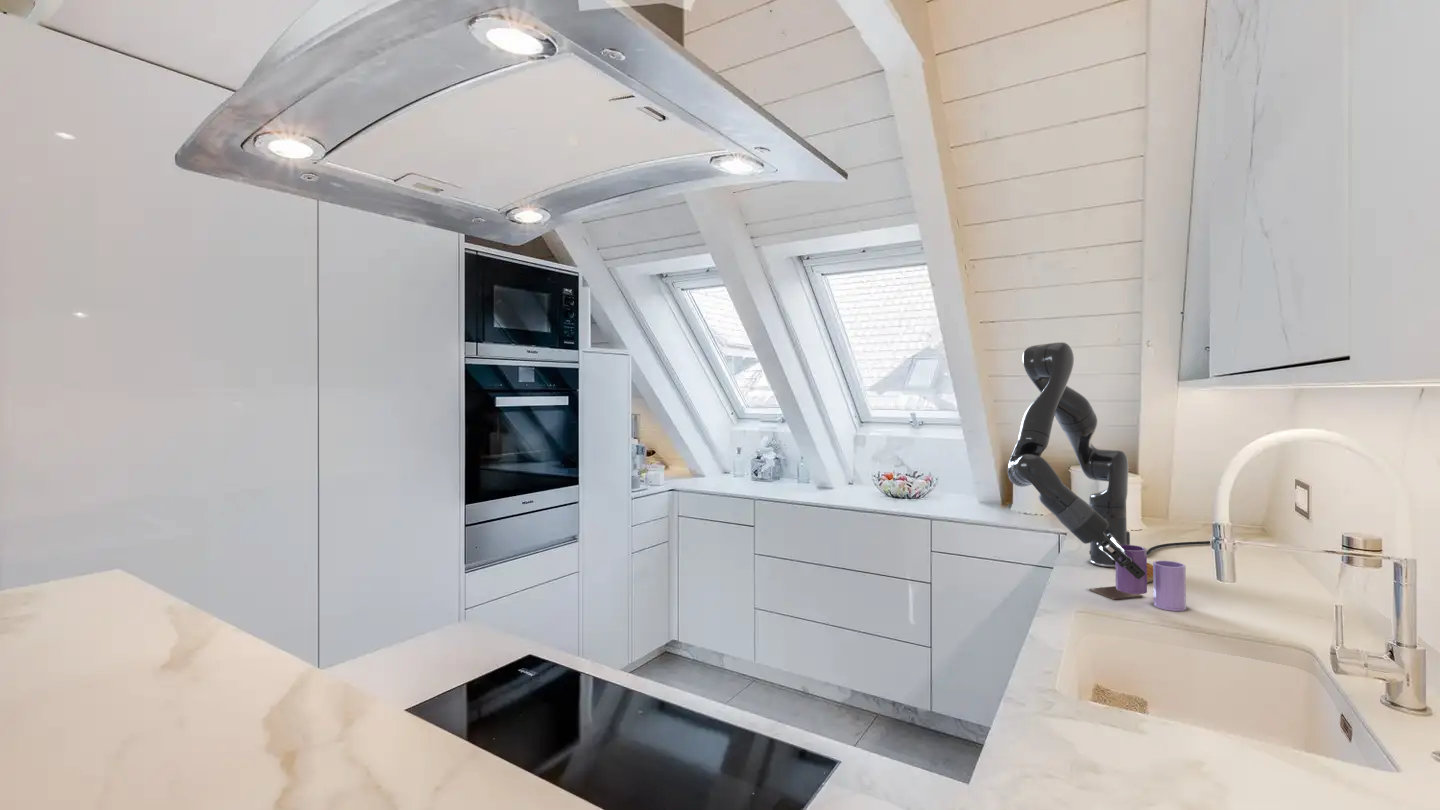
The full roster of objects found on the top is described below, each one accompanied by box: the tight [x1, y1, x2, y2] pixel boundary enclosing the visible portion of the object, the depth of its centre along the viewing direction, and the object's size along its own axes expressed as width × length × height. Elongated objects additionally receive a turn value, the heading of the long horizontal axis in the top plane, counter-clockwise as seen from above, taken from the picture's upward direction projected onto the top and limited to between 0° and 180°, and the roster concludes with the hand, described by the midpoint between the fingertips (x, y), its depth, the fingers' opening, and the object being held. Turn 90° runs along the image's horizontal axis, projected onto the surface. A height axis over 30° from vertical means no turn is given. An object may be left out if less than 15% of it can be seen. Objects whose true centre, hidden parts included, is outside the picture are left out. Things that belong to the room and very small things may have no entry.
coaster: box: [1089, 585, 1143, 601], centre depth 162 cm, size 8×8×1 cm
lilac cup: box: [1152, 560, 1187, 612], centre depth 151 cm, size 6×6×10 cm
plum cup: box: [1115, 544, 1148, 595], centre depth 152 cm, size 6×6×10 cm
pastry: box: [1147, 562, 1153, 584], centre depth 173 cm, size 9×7×4 cm
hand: (1139, 572), depth 152 cm, fingers closed on plum cup, 6 cm apart
